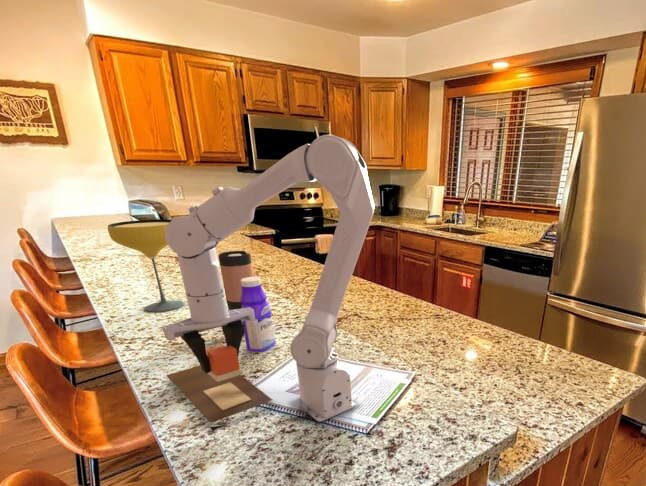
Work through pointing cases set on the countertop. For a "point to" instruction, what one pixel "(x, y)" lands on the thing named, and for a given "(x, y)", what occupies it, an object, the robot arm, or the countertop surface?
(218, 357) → the orange cube on base
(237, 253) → the travel mug
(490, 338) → the countertop surface
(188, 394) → the flat brown mat
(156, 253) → the cocktail glass
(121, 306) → the countertop surface
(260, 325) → the bottle
